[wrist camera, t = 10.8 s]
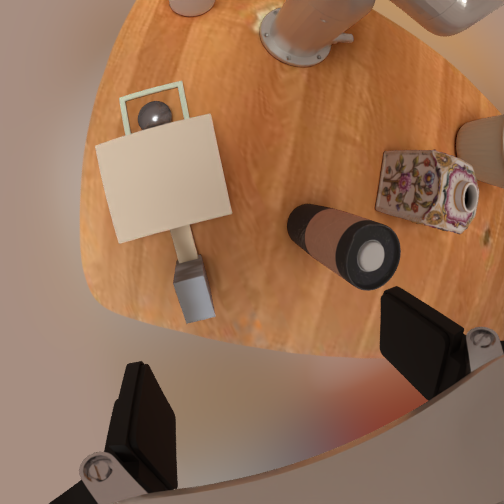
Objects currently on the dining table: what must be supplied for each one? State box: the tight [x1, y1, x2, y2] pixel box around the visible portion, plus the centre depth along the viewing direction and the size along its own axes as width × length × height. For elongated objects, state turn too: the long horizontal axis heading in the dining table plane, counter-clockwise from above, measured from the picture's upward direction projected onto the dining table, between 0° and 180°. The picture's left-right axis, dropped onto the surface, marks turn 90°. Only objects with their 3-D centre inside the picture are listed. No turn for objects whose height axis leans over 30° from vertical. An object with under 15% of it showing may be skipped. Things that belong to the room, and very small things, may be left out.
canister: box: [456, 115, 504, 188], centre depth 41 cm, size 18×18×21 cm
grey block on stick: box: [170, 224, 215, 323], centre depth 39 cm, size 4×22×10 cm, turn 12°
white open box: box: [95, 114, 232, 244], centre depth 37 cm, size 15×13×10 cm
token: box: [138, 101, 172, 130], centre depth 38 cm, size 5×5×2 cm
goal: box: [119, 81, 189, 135], centre depth 38 cm, size 10×8×1 cm
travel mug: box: [287, 204, 401, 290], centre depth 39 cm, size 8×8×20 cm
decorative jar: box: [375, 150, 479, 234], centre depth 41 cm, size 12×12×18 cm
